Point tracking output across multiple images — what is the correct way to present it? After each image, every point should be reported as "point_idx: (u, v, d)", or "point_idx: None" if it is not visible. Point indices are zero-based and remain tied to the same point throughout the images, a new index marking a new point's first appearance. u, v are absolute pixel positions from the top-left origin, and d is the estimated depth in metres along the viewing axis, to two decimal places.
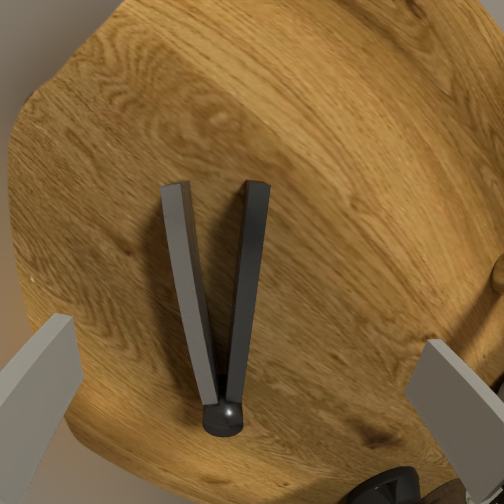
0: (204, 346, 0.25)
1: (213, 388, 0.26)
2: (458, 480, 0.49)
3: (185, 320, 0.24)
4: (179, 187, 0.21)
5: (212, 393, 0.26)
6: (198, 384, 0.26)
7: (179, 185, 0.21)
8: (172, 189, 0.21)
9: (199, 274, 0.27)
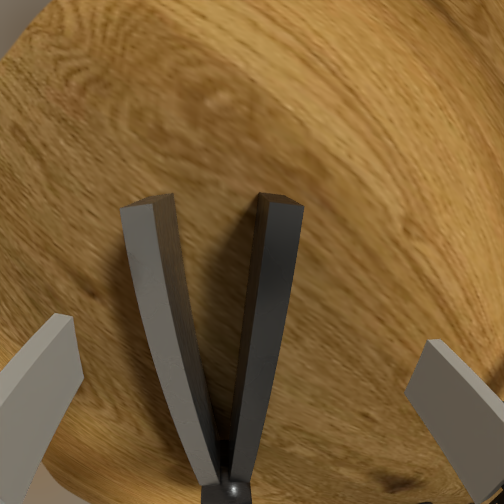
0: (200, 431, 0.16)
1: (213, 471, 0.17)
2: None
3: (171, 402, 0.15)
4: (151, 209, 0.12)
5: (212, 476, 0.17)
6: (193, 467, 0.17)
7: (151, 206, 0.12)
8: (140, 212, 0.12)
9: (190, 332, 0.18)
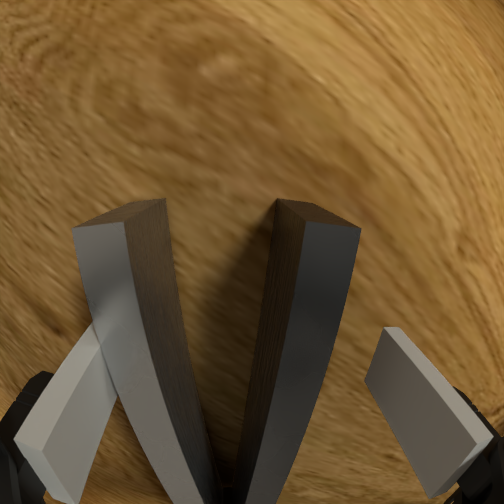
0: None
1: None
2: None
3: (165, 480, 0.10)
4: (121, 232, 0.07)
5: None
6: None
7: (121, 226, 0.07)
8: (103, 236, 0.07)
9: (189, 389, 0.12)
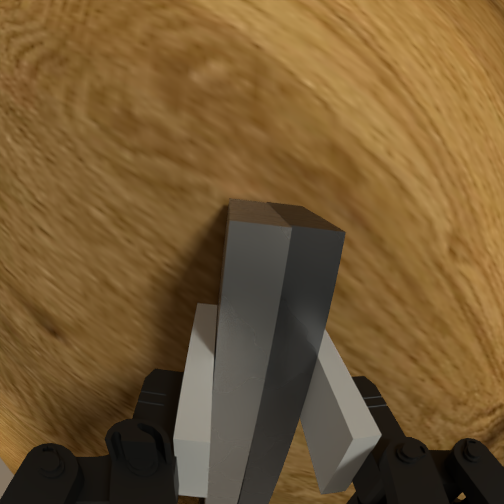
0: None
1: None
2: None
3: (212, 479, 0.10)
4: (287, 237, 0.07)
5: None
6: None
7: (288, 231, 0.07)
8: (266, 237, 0.07)
9: None
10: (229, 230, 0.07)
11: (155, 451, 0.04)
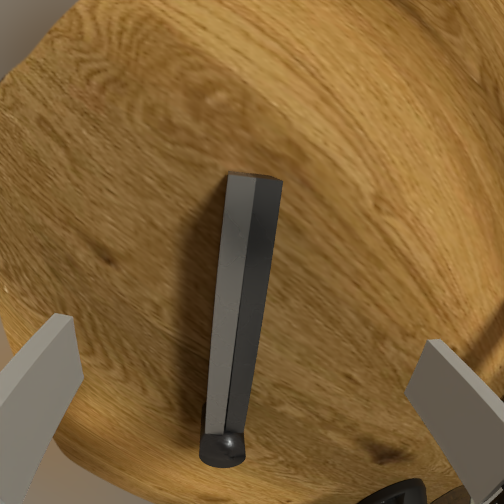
0: (228, 375, 0.20)
1: (223, 419, 0.22)
2: (463, 487, 0.45)
3: (215, 344, 0.19)
4: (254, 182, 0.16)
5: (220, 424, 0.22)
6: (207, 413, 0.21)
7: (254, 179, 0.16)
8: (244, 182, 0.16)
9: None
10: (228, 179, 0.16)
11: None
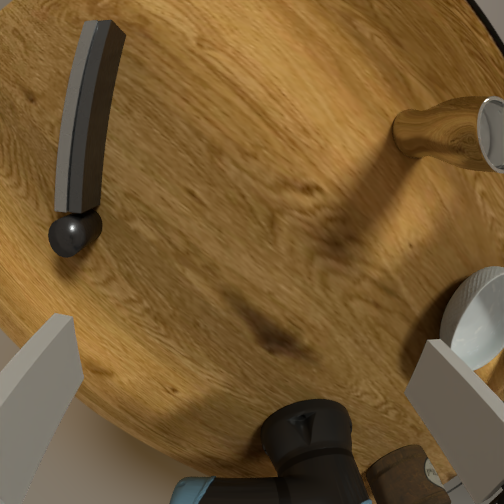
0: (69, 143, 0.24)
1: (66, 192, 0.26)
2: (417, 446, 0.51)
3: (64, 117, 0.24)
4: (95, 22, 0.21)
5: (64, 198, 0.26)
6: (56, 185, 0.26)
7: (96, 20, 0.21)
8: (91, 23, 0.21)
9: None
10: (84, 23, 0.20)
11: None
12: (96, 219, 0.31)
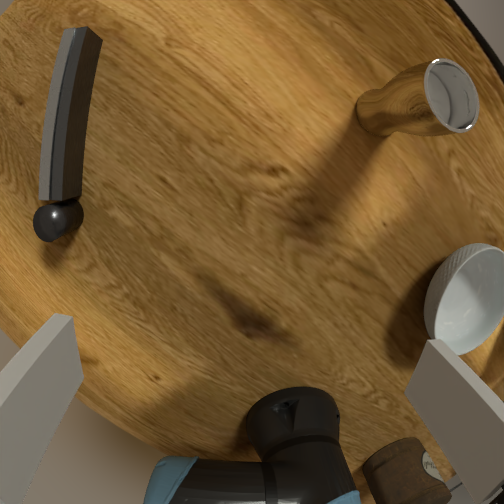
0: (51, 137, 0.26)
1: (48, 181, 0.27)
2: (414, 439, 0.50)
3: (47, 114, 0.25)
4: (73, 29, 0.22)
5: (47, 187, 0.27)
6: (40, 175, 0.27)
7: (74, 28, 0.22)
8: (70, 30, 0.22)
9: None
10: (64, 31, 0.22)
11: None
12: (77, 208, 0.32)
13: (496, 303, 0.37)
